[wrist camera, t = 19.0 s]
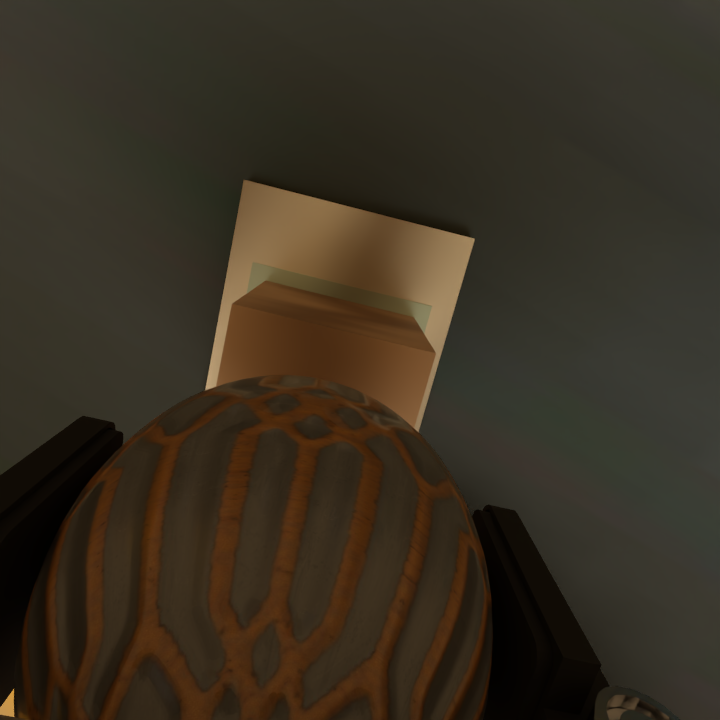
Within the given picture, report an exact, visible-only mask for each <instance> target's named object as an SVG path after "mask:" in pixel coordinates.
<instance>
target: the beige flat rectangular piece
mask: <svg viewBox="0 0 720 720" xmlns="http://www.w3.org/2000/svg"><path fill="white" fill-rule="evenodd" d="M474 240H475V239H474V238H470V237H466V236H462V235H458V234H454V233H450V232H446V231H442V230H438V229H435V228H431V227H427V226H423V225H419V224H415V223H411V222H407V221H403V220H399V219H396V218H392V217H388V216H384V215H380V214H376V213H372V212H368V211H364V210H360V209H357V208H353V207H349V206H345V205H341V204H337V203H333V202H329V201H325V200H321V199H317V198H314V197H310V196H306V195H302V194H298V193H294V192H290V191H286V190H282V189H278V188H275V187H271V186H267V185H263V184H259V183H255V182H251V181H247V180H244V182H243V188H242V193H241V199H240V204H239V209H238V215H237V220H236V226H235V231H234V237H233V242H232V248H231V253H230V259H229V264H228V269H227V275H226V280H225V286H224V291H223V297H222V302H221V308H220V313H219V318H218V324H217V329H216V335H215V340H214V346H213V351H212V357H211V362H210V367H209V373H208V378H207V384H206V389H205V390H208V389H211V388H213V387H216V384H217V379H218V373H219V368H220V363H221V358H222V353H223V347H224V342H225V337H226V332H227V327H228V321H229V316H230V311H231V306H232V303H234V302H235V301H237V300H238V299H240V298H241V297H242V296H244V295H245V294H247V293H248V292H250V291H251V290H253V289H254V288H255V287H257V286H258V285H260V284H261V283H263V282H264V281H270V282H274V283H278V284H282V285H286V286H290V287H294V288H298V289H302V290H306V291H310V292H314V293H318V294H322V295H326V296H330V297H334V298H339V299H343V300H347V301H351V302H355V303H359V304H363V305H367V306H371V307H375V308H379V309H383V310H387V311H391V312H395V313H399V314H403V315H407V316H411V317H414V318H415V320H416V321H417V323H418V324H419V326H420V328H421V329H422V331H423V333H424V334H425V336H426V338H427V339H428V341H429V342H430V344H431V346H432V347H433V349H434V351H435V352H436V356H435V359H434V363H433V366H432V369H431V373H430V376H429V380H428V383H427V386H426V390H425V393H424V397H423V400H422V403H421V407H420V410H419V414H418V417H417V420H416V424H415V427H414V429H415V430H416V431H417V432H418V431H419V428H420V425H421V421H422V418H423V414H424V411H425V408H426V404H427V401H428V397H429V394H430V390H431V387H432V384H433V380H434V377H435V373H436V370H437V367H438V363H439V360H440V356H441V353H442V349H443V346H444V343H445V339H446V336H447V332H448V329H449V326H450V322H451V319H452V315H453V312H454V308H455V305H456V302H457V298H458V295H459V291H460V288H461V285H462V281H463V278H464V274H465V271H466V267H467V264H468V261H469V257H470V254H471V250H472V247H473V243H474Z"/></svg>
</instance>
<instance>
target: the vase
mask: <svg viewBox="0 0 720 720" xmlns="http://www.w3.org/2000/svg"><path fill="white" fill-rule="evenodd" d="M492 642H493V623H492V599H491V592H490V584H489V577H488V571H487V565H486V561H485V556H484V552H483V549H482V546H481V543H480V540H479V536H478V533H477V530H476V527H475V524H474V521H473V519H472V517H471V514H470V512H469V510H468V507H467V505H466V503H465V501H464V499H463V496H462V494H461V492H460V490H459V488H458V486H457V485H456V483H455V481H454V479H453V477H452V476H451V474H450V473H449V471H448V469H447V468H446V466H445V465H444V463H443V462H442V460H441V458H440V457H439V455H438V454H437V453H436V452H435V450H434V449H433V448H432V447H431V445H430V444H429V443H428V442H427V441H426V440H425V439H424V438H423V437H422V435H421V434H420V433H419V432H417V431H416V430H415V429H414V428H413V427H412V426H411V425H410V424H409V423H408V422H406V421H405V420H404V419H403V418H402V417H401V416H399V415H398V414H397V413H395V412H394V411H393V410H392V409H390V408H388V407H387V406H385V405H384V404H382V403H381V402H379V401H377V400H376V399H374V398H372V397H370V396H368V395H366V394H364V393H362V392H360V391H358V390H355V389H353V388H350V387H347V386H345V385H342V384H338V383H335V382H332V381H328V380H323V379H318V378H313V377H306V376H296V375H268V376H257V377H251V378H245V379H240V380H237V381H233V382H229V383H226V384H222V385H219V386H216V387H213V388H211V389H208V390H205V391H202V392H200V393H198V394H195V395H193V396H191V397H189V398H187V399H185V400H183V401H181V402H179V403H178V404H176V405H174V406H173V407H171V408H170V409H168V410H167V411H165V412H164V413H162V414H161V415H159V416H158V417H156V418H155V419H154V420H152V421H151V422H150V423H148V424H147V425H146V426H144V427H143V428H142V429H140V430H139V431H138V432H137V433H136V434H135V435H134V436H133V437H131V438H130V439H129V440H128V441H127V442H126V443H125V444H124V445H122V446H121V447H120V448H119V449H118V450H117V451H116V452H115V453H114V454H113V455H112V456H111V457H110V458H109V459H108V461H107V462H106V463H105V464H104V465H103V466H102V467H101V468H100V469H99V470H98V472H97V473H96V474H95V475H94V476H93V477H92V478H91V480H90V481H89V482H88V484H87V485H86V486H85V488H84V489H83V490H82V492H81V493H80V495H79V496H78V498H77V499H76V501H75V502H74V504H73V506H72V507H71V509H70V510H69V512H68V514H67V515H66V517H65V518H64V520H63V522H62V524H61V526H60V528H59V530H58V532H57V534H56V536H55V538H54V540H53V542H52V544H51V546H50V548H49V550H48V552H47V554H46V557H45V559H44V562H43V564H42V567H41V570H40V572H39V575H38V577H37V580H36V582H35V585H34V588H33V590H32V594H31V597H30V601H29V604H28V607H27V611H26V614H25V618H24V622H23V625H22V630H21V635H20V641H19V647H18V653H17V659H16V665H15V679H14V716H15V717H16V718H21V719H27V720H483V717H484V713H485V709H486V704H487V697H488V690H489V682H490V675H491V662H492Z"/></svg>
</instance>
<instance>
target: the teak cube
mask: <svg viewBox="0 0 720 720" xmlns="http://www.w3.org/2000/svg"><path fill="white" fill-rule="evenodd" d="M435 356H436V352H435V351H434V349H433V347H432V346H431V344H430V342H429V341H428V339H427V338H426V336H425V334H424V333H423V331H422V329H421V328H420V326H419V324H418V323H417V321H416V320H415V318H414V317H411V316H407V315H403V314H399V313H395V312H391V311H387V310H383V309H379V308H375V307H371V306H367V305H363V304H359V303H355V302H351V301H347V300H343V299H339V298H334V297H330V296H326V295H322V294H318V293H314V292H310V291H306V290H302V289H298V288H294V287H290V286H286V285H282V284H278V283H274V282H270V281H264V282H263V283H261V284H260V285H258V286H257V287H255V288H254V289H253V290H251V291H250V292H248V293H247V294H245V295H244V296H242V297H241V298H240V299H238V300H237V301H235V302H234V303H232V306H231V311H230V316H229V321H228V327H227V332H226V337H225V342H224V347H223V353H222V358H221V363H220V368H219V373H218V379H217V384H216V386H219V385H222V384H226V383H229V382H233V381H237V380H240V379H245V378H251V377H257V376H268V375H296V376H306V377H313V378H318V379H323V380H328V381H332V382H335V383H338V384H342V385H345V386H347V387H350V388H353V389H355V390H358V391H360V392H362V393H364V394H366V395H368V396H370V397H372V398H374V399H376V400H377V401H379V402H381V403H382V404H384V405H385V406H387V407H388V408H390V409H392V410H393V411H394V412H395V413H397V414H398V415H399V416H401V417H402V418H403V419H404V420H405V421H406V422H408V423H409V424H410V425H411V426H412V427H413V428H414V427H415V424H416V420H417V417H418V414H419V410H420V407H421V403H422V400H423V397H424V393H425V390H426V386H427V383H428V380H429V376H430V373H431V369H432V366H433V363H434V359H435Z"/></svg>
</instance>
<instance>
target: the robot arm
mask: <svg viewBox="0 0 720 720" xmlns="http://www.w3.org/2000/svg"><path fill="white" fill-rule="evenodd" d="M122 444H123V433H122V432H120V431H115V424H114V423H113V422H109V421H105V420H100V419H95V418H91V417H86V416H82V417H80V418H79V419H77V420H76V421H75V422H73V423H72V424H70V425H69V426H68V427H66V428H65V429H64V430H62V431H61V432H59V433H58V434H57V435H55V436H54V437H53V438H51V439H50V440H48V441H47V442H46V443H44V444H43V445H42V446H40V447H39V448H37V449H36V450H35V451H33V452H32V453H31V454H29V455H28V456H26V457H25V458H24V459H22V460H21V461H20V462H18V463H17V464H15V465H14V466H13V467H11V468H10V469H9V470H7V471H6V472H4V473H3V474H1V475H0V707H1V706H2V704H3V703H4V701H5V700H6V699H7V697H8V696H9V694H10V693H11V692H12V690H13V689H14V679H15V665H16V659H17V653H18V647H19V641H20V635H21V630H22V625H23V622H24V618H25V614H26V611H27V607H28V604H29V601H30V597H31V594H32V590H33V588H34V585H35V582H36V580H37V577H38V575H39V572H40V570H41V567H42V564H43V562H44V559H45V557H46V554H47V552H48V550H49V548H50V546H51V544H52V542H53V540H54V538H55V536H56V534H57V532H58V530H59V528H60V526H61V524H62V522H63V520H64V518H65V517H66V515H67V514H68V512H69V510H70V509H71V507H72V506H73V504H74V502H75V501H76V499H77V498H78V496H79V495H80V493H81V492H82V490H83V489H84V488H85V486H86V485H87V484H88V482H89V481H90V480H91V478H92V477H93V476H94V475H95V474H96V473H97V472H98V470H99V469H100V468H101V467H102V466H103V465H104V464H105V463H106V462H107V461H108V459H109V458H110V457H111V456H112V455H113V454H114V453H115V452H116V451H117V450H118V449H119V448H120V447H121V446H122ZM472 519H473V521H474V524H475V527H476V530H477V533H478V536H479V540H480V543H481V546H482V549H483V552H484V556H485V561H486V565H487V571H488V577H489V584H490V592H491V599H492V623H493V642H492V662H491V675H490V682H489V690H488V697H487V704H486V709H485V713H484V717H483V720H680V719H679V718H678V717H677V716H676V715H674V714H673V713H672V712H671V711H669V710H668V709H667V708H666V707H665V706H663V705H662V704H660V703H659V702H657V701H655V700H654V699H652V698H650V697H649V696H647V695H645V694H643V693H640V692H638V691H635V690H633V689H630V688H625V687H620V686H611V687H610V686H609V684H608V683H607V681H606V679H605V677H604V675H603V674H602V672H601V670H600V667H601V664H600V662H599V660H598V658H597V656H596V655H595V653H594V651H593V649H592V647H591V645H590V644H589V642H588V640H587V638H586V636H585V635H584V633H583V631H582V629H581V627H580V626H579V624H578V622H577V620H576V618H575V617H574V615H573V613H572V611H571V609H570V608H569V606H568V604H567V602H566V600H565V599H564V597H563V595H562V593H561V591H560V590H559V588H558V586H557V584H556V582H555V581H554V579H553V577H552V575H551V573H550V572H549V570H548V568H547V566H546V564H545V563H544V561H543V559H542V557H541V555H540V554H539V552H538V550H537V548H536V546H535V545H534V543H533V541H532V539H531V537H530V536H529V534H528V532H527V530H526V528H525V527H524V525H523V523H522V521H521V519H520V518H519V516H518V514H517V513H516V511H514V510H510V509H505V508H501V507H496V506H492V505H486V506H485V507H484V509H483V511H481V510H476V511H475V512H474V514H473V516H472ZM0 720H27V719H21V718H16V717H9V716H4V715H0Z"/></svg>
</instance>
